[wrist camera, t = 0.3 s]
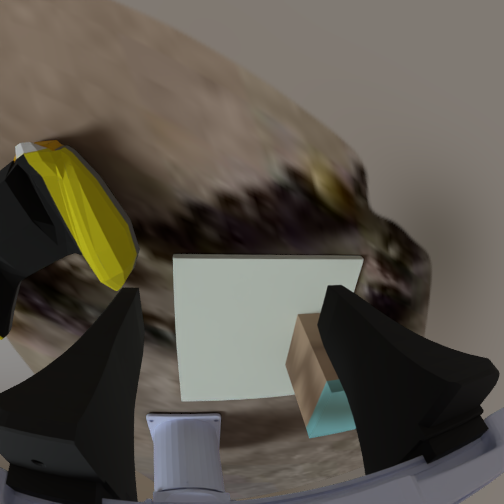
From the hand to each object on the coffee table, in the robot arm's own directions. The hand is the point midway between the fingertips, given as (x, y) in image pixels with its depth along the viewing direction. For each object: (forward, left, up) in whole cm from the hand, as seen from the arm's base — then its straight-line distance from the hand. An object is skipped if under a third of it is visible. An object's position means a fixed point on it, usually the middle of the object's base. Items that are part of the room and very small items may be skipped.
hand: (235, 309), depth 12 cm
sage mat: (-11, -4, -10) cm, 15 cm away
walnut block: (-11, -9, -9) cm, 17 cm away
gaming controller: (-1, +13, -10) cm, 17 cm away
